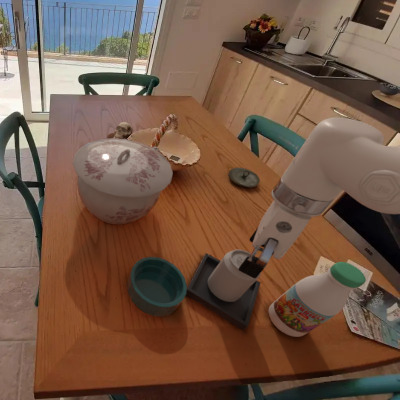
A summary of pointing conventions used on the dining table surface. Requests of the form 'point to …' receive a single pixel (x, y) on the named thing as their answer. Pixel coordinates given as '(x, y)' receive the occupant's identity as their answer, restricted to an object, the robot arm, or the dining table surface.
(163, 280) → the bowl
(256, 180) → the lid
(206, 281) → the tray
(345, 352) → the dining table surface
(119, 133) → the skull
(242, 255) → the can
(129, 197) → the chamber pot
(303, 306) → the milk bottle
